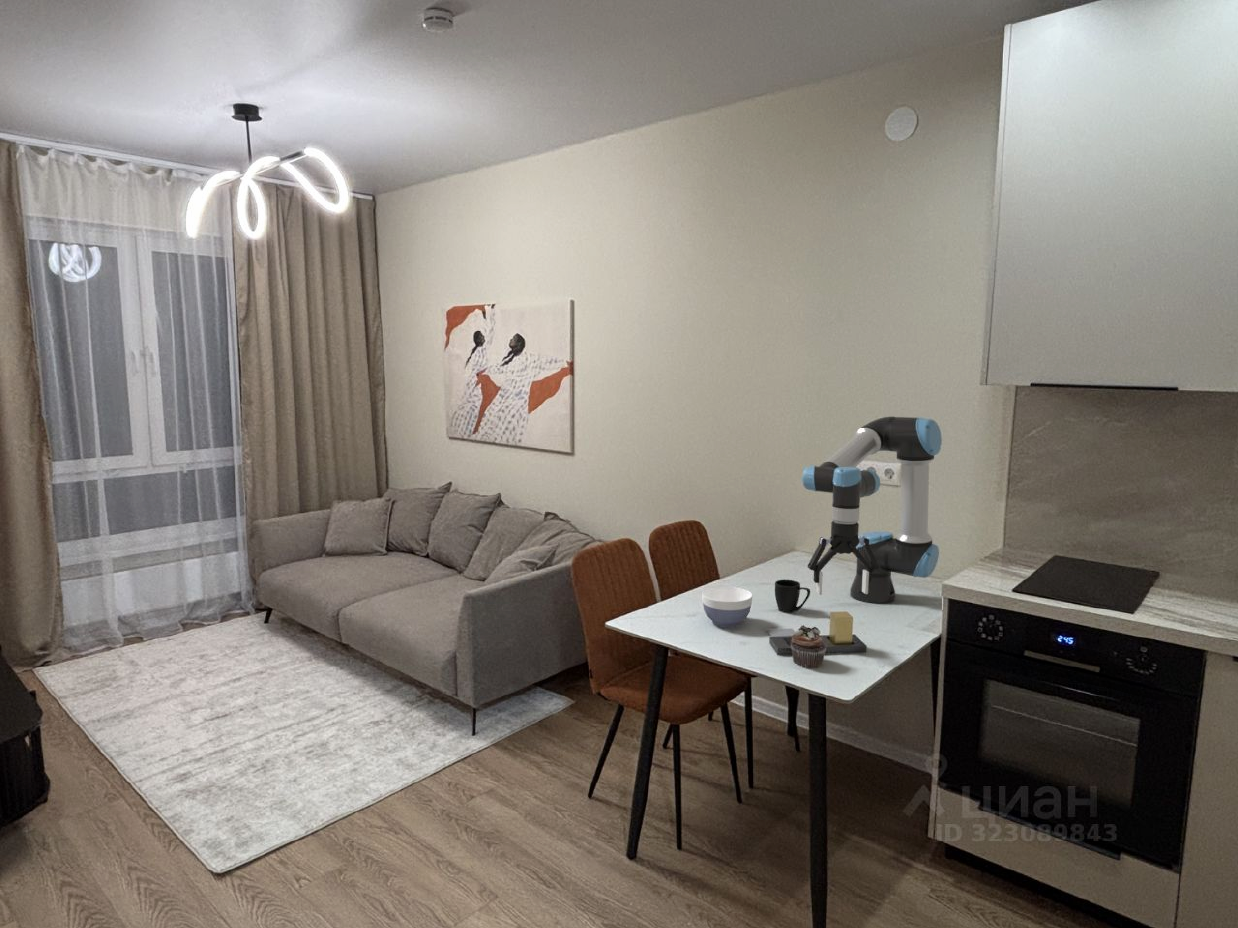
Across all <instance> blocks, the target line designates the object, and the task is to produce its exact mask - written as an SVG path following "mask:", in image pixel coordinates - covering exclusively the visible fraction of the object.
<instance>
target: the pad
mask: <svg viewBox="0 0 1238 928" xmlns="http://www.w3.org/2000/svg"><path fill="white" fill-rule="evenodd" d="M766 631H767V633H768V634H769V635H770V636H769V637H782V636H793V635H794V634H795V632H796V631H795V630H794V628H767V629H766Z"/></svg>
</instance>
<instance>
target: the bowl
mask: <svg viewBox="0 0 1238 928" xmlns="http://www.w3.org/2000/svg"><path fill="white" fill-rule="evenodd" d="M701 596H702V597H701V598H702V601H701V602H702V605H703V610H704V612H705V615H706V616H707V618H708V619H710V621H711V622H712V624H713V625H714V626H716V627H720V628H729V629H730V628H736V627H739V626H740V625H741V624H742V622H744V621H745V620H746V619H747V617H748V616H749V614H750V612H751V607H752V603H753V602H752V601H753V594H752V592H751V591H749V590H747V589H743V588H740V587H735V586H715V587H714V586H713V587H708V588H706V589H704V590H703V591H702V593H701Z"/></svg>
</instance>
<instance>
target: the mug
mask: <svg viewBox="0 0 1238 928" xmlns="http://www.w3.org/2000/svg"><path fill="white" fill-rule="evenodd" d="M802 590H803V591H806V596H805V598H804V600H803V601H802V603H800V605H798V602H799V600H800V599H799V598H800V592H801V591H802ZM810 595H811V589H810V588H809V587H808V588H807V587H802V586H801V583H800V582H799V581H796V580H793V579H779V580H778V579H777V580H776V581H775V582H774V597H775V602H776V605H777V610H778V612H781V613H785V614H792V613H794V612H798V611H800V609H802V607H803V606H804V605H805V604H806V602H807V600H808V599H809V597H810Z"/></svg>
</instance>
